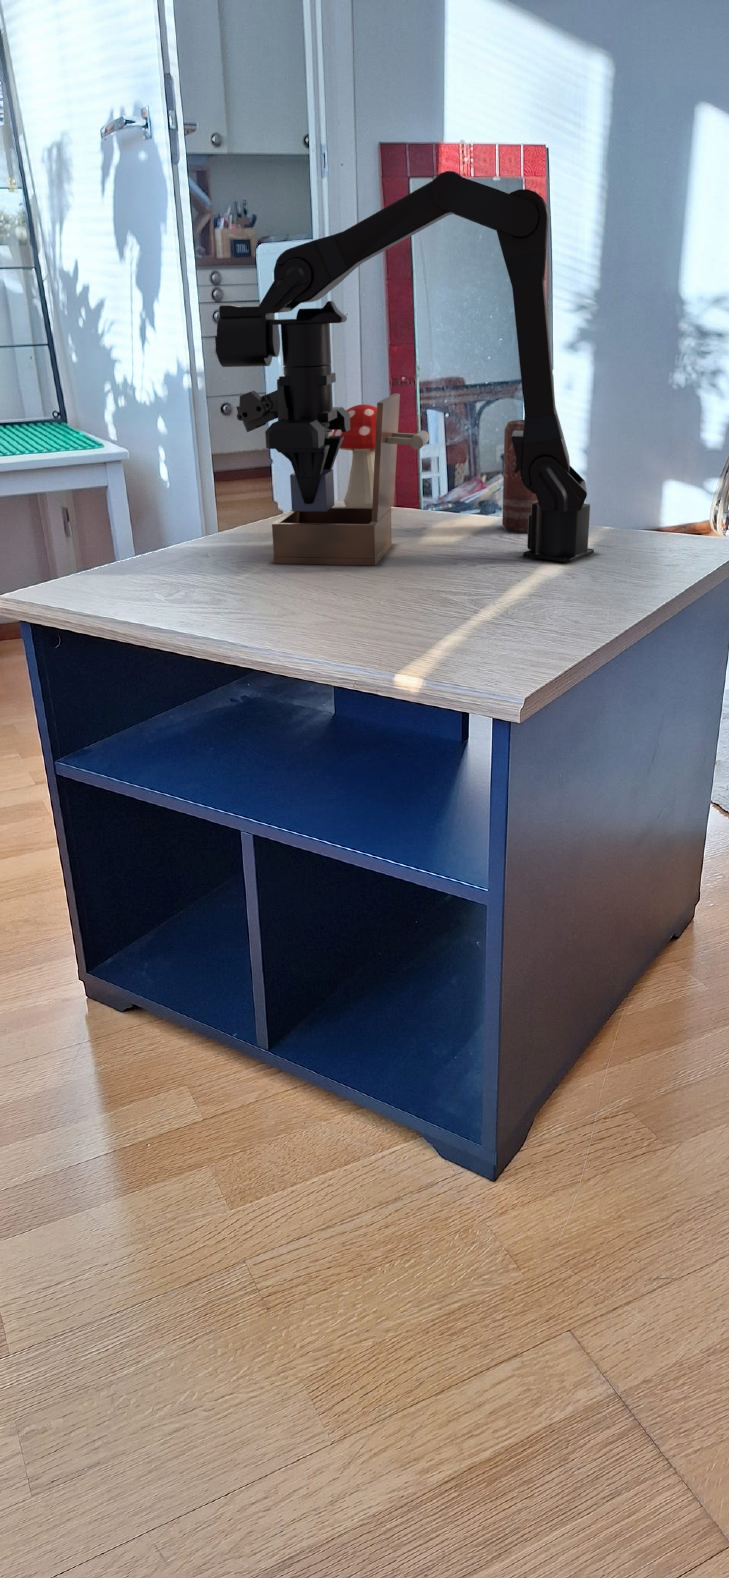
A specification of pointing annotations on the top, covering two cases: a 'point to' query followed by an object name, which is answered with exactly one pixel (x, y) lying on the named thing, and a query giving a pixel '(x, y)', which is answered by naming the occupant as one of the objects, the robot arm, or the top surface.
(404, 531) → the top surface
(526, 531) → the can
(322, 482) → the block
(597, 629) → the top surface
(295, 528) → the chest
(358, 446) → the decorative mushroom
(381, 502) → the lid
